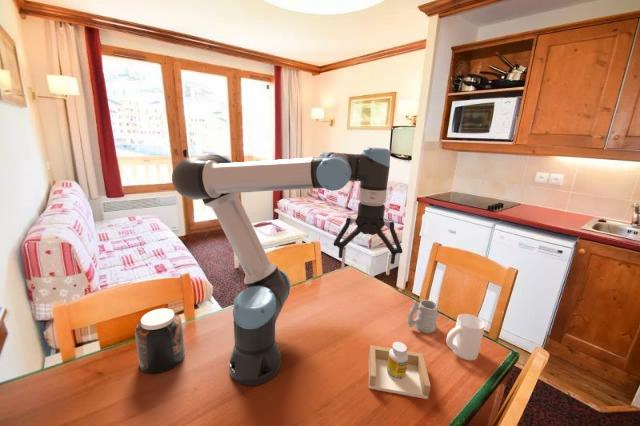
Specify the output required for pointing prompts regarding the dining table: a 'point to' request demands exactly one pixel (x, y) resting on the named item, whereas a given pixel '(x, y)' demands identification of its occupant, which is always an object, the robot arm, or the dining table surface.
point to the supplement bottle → (397, 361)
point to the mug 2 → (466, 336)
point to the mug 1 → (424, 316)
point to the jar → (159, 341)
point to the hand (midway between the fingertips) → (364, 270)
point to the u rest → (409, 385)
